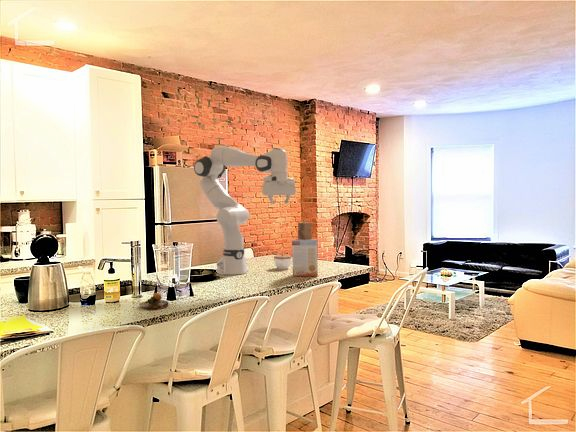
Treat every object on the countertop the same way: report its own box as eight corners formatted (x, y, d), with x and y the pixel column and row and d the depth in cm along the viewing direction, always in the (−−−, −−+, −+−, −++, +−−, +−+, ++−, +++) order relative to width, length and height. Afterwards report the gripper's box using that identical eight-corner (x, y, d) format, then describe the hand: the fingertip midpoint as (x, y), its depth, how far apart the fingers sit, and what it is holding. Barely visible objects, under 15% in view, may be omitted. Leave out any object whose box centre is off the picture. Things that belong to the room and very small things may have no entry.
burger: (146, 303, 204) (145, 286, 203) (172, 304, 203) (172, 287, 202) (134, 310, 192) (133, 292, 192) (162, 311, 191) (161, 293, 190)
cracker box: (317, 274, 268) (317, 238, 267) (317, 276, 262) (317, 239, 261) (293, 274, 269) (292, 238, 268) (292, 276, 263) (292, 239, 262)
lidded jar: (271, 269, 287) (271, 254, 287) (277, 266, 297) (276, 252, 297) (288, 270, 284) (288, 254, 283) (293, 267, 294) (293, 252, 294)
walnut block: (298, 238, 265) (297, 222, 265) (304, 238, 268) (304, 222, 268) (304, 239, 260) (304, 223, 260) (311, 238, 263) (311, 222, 263)
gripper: (290, 178, 263) (291, 203, 264) (260, 178, 251) (261, 204, 251) (297, 178, 258) (298, 203, 259) (267, 177, 246) (267, 204, 246)
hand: (279, 203), depth 255 cm, fingers open, 8 cm apart
